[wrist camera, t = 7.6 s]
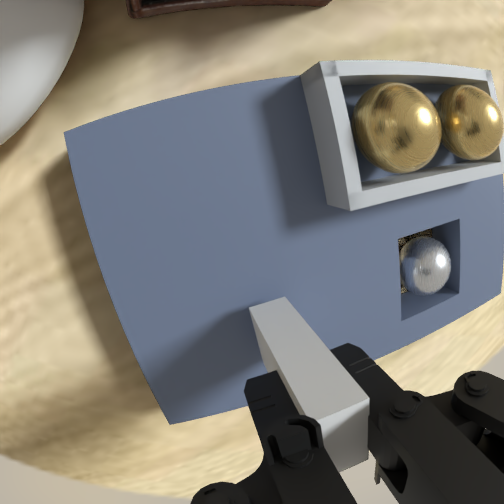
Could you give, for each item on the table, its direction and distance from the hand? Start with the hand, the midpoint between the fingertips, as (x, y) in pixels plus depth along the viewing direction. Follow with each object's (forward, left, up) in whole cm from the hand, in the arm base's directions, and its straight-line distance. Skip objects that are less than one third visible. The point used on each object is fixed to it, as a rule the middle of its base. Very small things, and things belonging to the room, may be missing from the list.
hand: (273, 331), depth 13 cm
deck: (+5, +3, -3) cm, 7 cm away
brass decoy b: (+11, +7, +1) cm, 13 cm away
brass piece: (+6, +7, +1) cm, 9 cm away
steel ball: (+9, 0, -2) cm, 9 cm away
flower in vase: (-11, +17, -4) cm, 20 cm away
